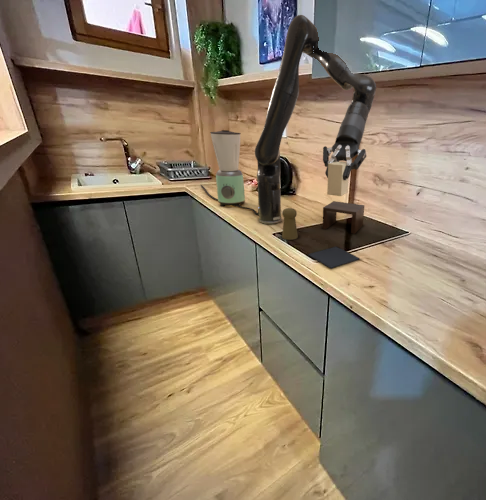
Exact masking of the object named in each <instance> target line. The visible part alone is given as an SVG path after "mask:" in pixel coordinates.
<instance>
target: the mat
mask: <svg viewBox="0 0 486 500" xmlns="http://www.w3.org/2000/svg"><path fill="white" fill-rule="evenodd" d="M307 255H308V256H309V257H310V258H312V259H314V260H315V261H317V262H319V263H320V264H322V265H323V266H325V267H327V268H329V269H330V270H332V269H335V268H338V267H341V266H344V265H347V264H350V263H354V262H357V261H360V258H359V257H358V256H356V255H354V254H352V253H350V252H348V251H346V250H344V249H342V248H340V247H338V246H333V247H330V248H326V249H322V250H318V251H315V252H311V253H308V254H307Z"/></svg>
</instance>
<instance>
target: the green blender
mask: <svg viewBox="0 0 486 500" xmlns="http://www.w3.org/2000/svg"><path fill="white" fill-rule="evenodd" d="M209 133H210V137H211V143H212V146H213V151H214V155H215V158H216V162H217V166H218V170H217V171H216V173H215V184H216V192H217V199H218V201H217V202H218V203H219V204H220V207H225V206H232V205H239V206H241V205H242V204H244V203H246V202H245V201H246V194H245V193H246V192H245V182H244V174H243V172H242V170H240V169H239V168H240V167H239V166H240V156H241V155H240V154H241V132H236V131H235V132H234V131H230V130H228V129H227V130H226V129H225V130H223V129H222V130H218V131H210V132H209Z"/></svg>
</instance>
